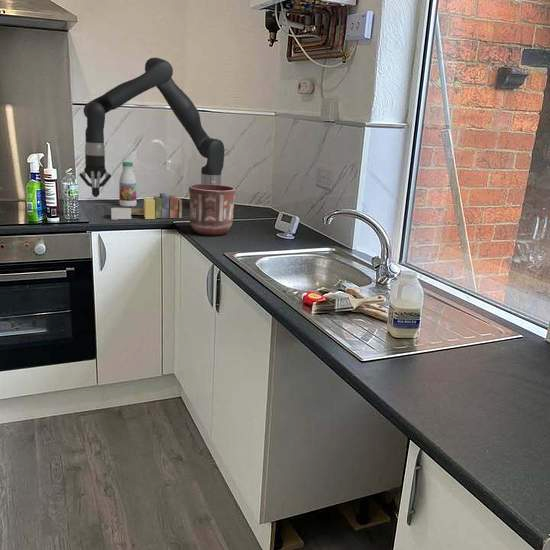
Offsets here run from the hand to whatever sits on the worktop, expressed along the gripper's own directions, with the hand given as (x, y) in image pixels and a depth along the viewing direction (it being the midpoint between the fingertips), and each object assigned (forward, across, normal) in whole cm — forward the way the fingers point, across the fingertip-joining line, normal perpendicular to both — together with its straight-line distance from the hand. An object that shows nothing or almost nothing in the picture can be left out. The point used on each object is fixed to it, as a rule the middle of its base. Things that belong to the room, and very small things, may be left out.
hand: (95, 196), depth 233 cm
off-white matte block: (+9, +10, 0) cm, 14 cm away
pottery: (+9, +42, -29) cm, 52 cm away
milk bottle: (+9, +16, +29) cm, 34 cm away
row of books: (+9, +21, +1) cm, 23 cm away
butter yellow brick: (+9, +22, -1) cm, 23 cm away
